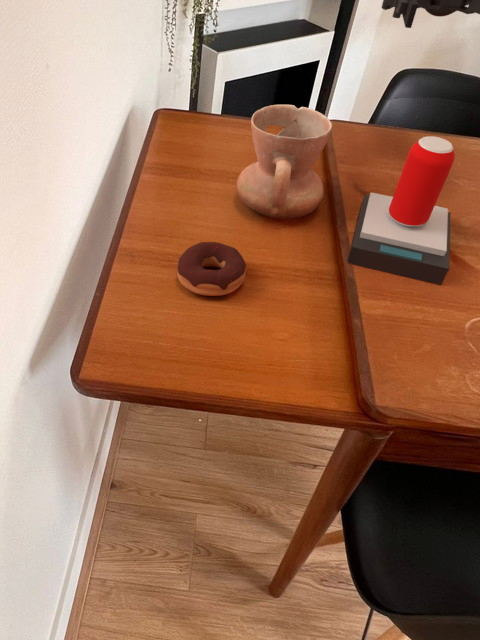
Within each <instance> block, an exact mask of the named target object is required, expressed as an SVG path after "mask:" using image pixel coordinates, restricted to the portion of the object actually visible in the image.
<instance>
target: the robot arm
mask: <svg viewBox="0 0 480 640" xmlns="http://www.w3.org/2000/svg"><path fill="white" fill-rule="evenodd" d="M392 8H393V13H392V18H394V19H401V16H402V19H403V23H404V27H405V28H407V29H412V27H413V23H414V19H415V16H416V13H417V10H418V9H420V8H421V9H424V10H425V11H426V12H427V13H428V14H429V15H430V16H431V15H432V16H434V17H440V18H442V17H447V16H450V15H452V14H454V13H455V12H460V13H462V14H466V15H471V14H478V15H480V0H382V3H381V9H382V10H384V11H388V10H391V9H392Z"/></svg>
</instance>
